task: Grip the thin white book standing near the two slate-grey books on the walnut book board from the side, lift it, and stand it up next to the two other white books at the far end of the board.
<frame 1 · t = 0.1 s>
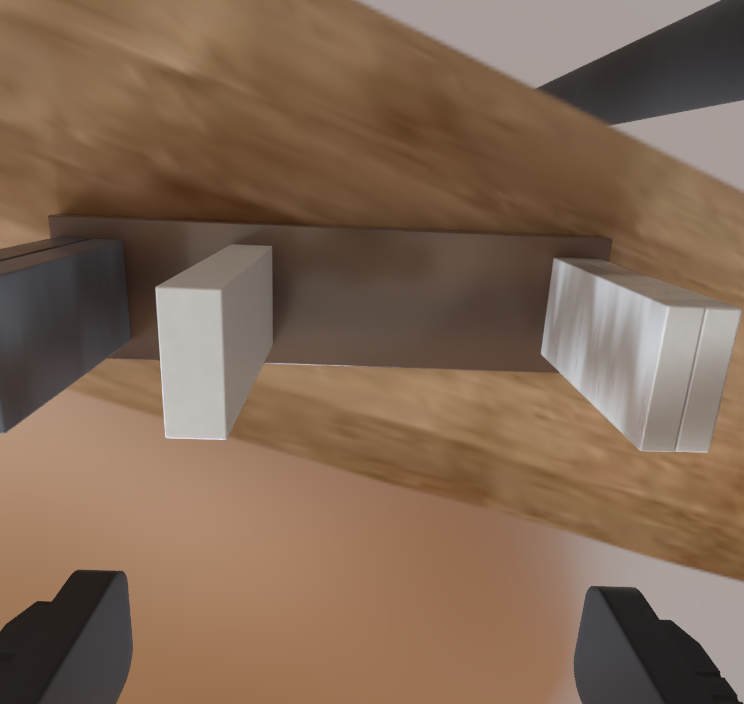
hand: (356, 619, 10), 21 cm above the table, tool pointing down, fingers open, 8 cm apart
book rack: (334, 295, 30), on the table
white book: (252, 296, 29), point 1 cm above the table, touching book rack
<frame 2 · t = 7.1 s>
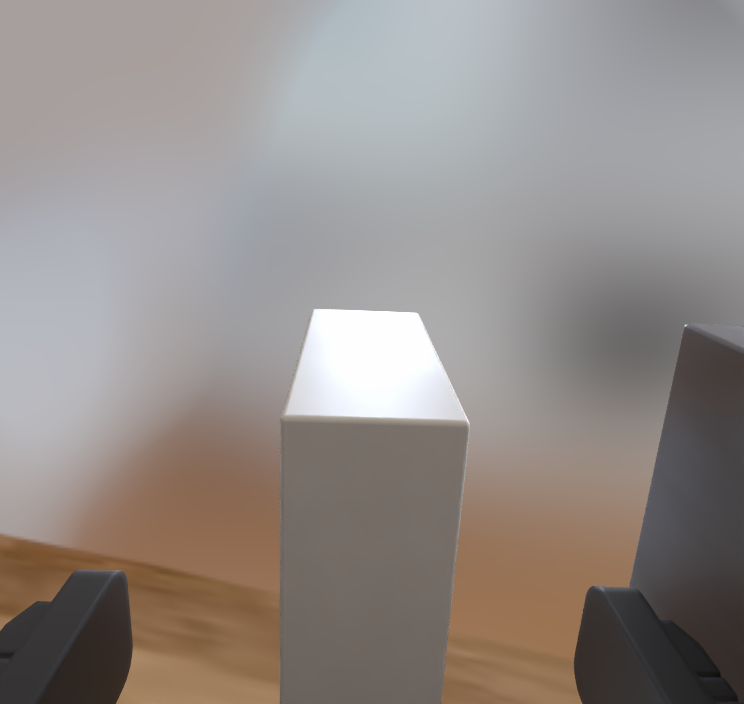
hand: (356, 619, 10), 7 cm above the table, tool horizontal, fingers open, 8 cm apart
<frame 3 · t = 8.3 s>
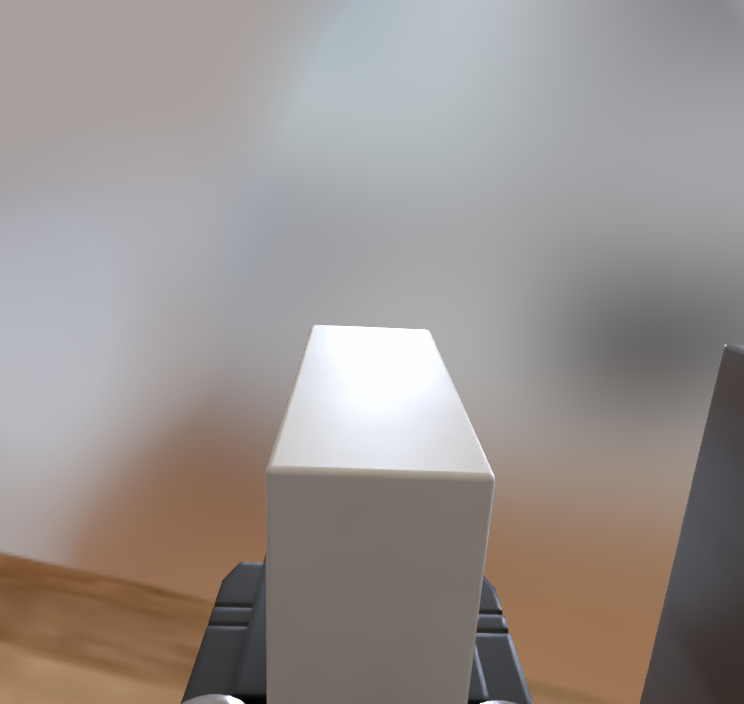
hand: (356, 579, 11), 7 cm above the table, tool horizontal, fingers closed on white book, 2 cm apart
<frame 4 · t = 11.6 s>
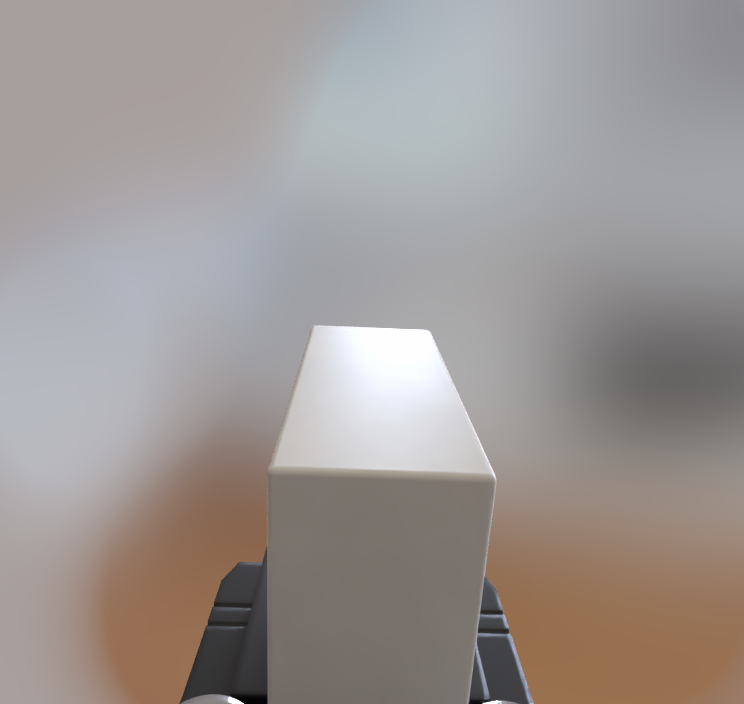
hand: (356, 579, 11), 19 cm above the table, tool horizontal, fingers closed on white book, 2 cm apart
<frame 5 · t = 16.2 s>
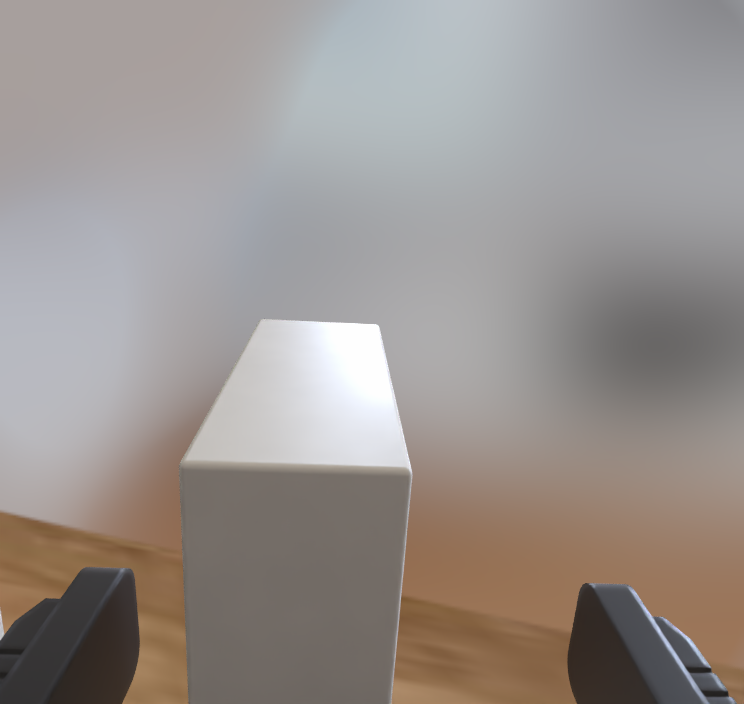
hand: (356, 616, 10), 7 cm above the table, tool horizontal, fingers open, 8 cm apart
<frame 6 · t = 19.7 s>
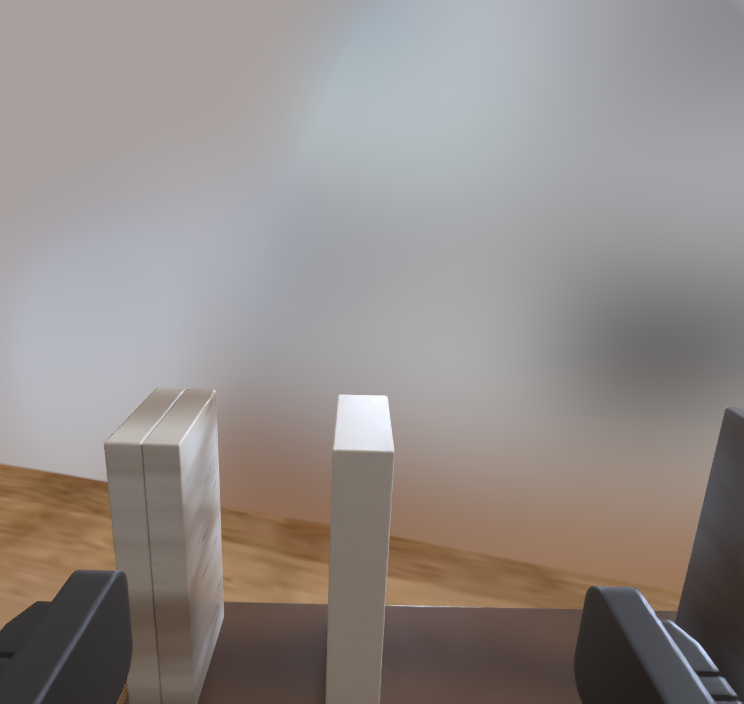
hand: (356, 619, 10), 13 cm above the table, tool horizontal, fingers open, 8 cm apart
book rack: (466, 684, 25), on the table
white book: (352, 663, 24), point 1 cm above the table, touching book rack
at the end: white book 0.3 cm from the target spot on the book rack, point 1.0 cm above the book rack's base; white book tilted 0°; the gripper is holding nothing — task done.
